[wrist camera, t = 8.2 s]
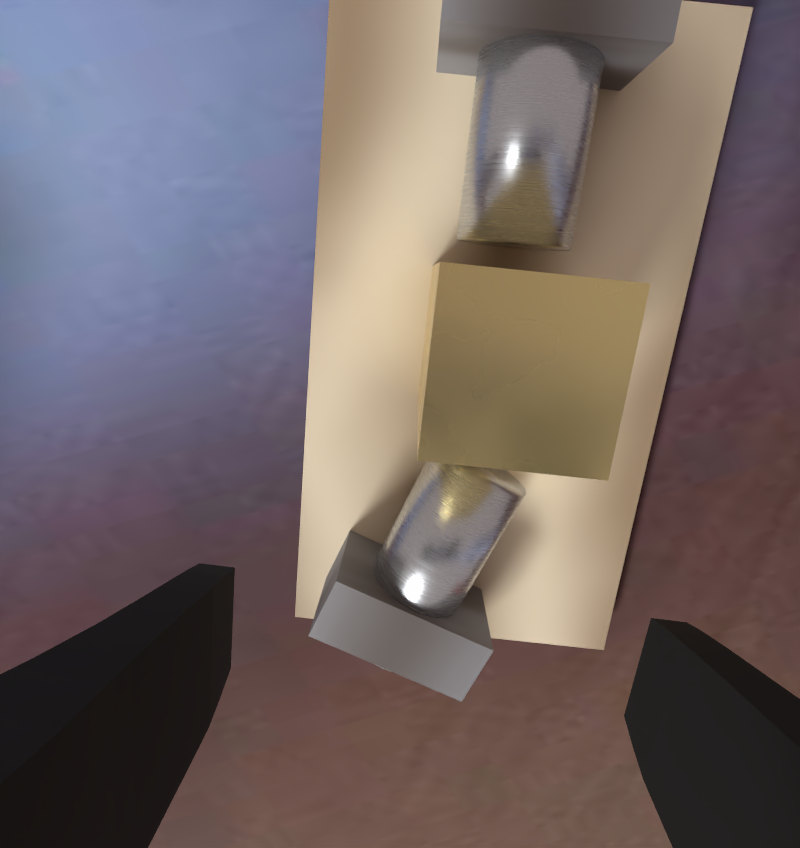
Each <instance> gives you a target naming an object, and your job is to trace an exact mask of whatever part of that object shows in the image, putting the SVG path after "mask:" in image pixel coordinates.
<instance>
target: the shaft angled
mask: <svg viewBox="0 0 800 848" xmlns="http://www.w3.org/2000/svg"><path fill="white" fill-rule="evenodd" d="M525 495H526V490H525V488H524V486H523V485H522V484H521V483H520V482H519V481H518V480H517V479H516V478H515V477H514V476H513V475H512V474H510V473H509V472H508V471H506V470H502V469H493V468H483V467H474V466H464V465H455V464H445V463H436V462H426V463H425V465H424V467H423V469H422V471H421V473H420V475H419V476H418V478H417V480H416V482H415V484H414V486H413V488H412V490H411V492H410V494H409V495H408V497H407V499H406V501H405V503H404V505H403V507H402V509H401V511H400V513H399V515H398V516H397V518H396V520H395V522H394V524H393V526H392V528H391V530H390V532H389V534H388V535H387V537H386V539H385V541H384V543H383V545H382V547H381V549H380V551H379V553H378V554H377V556H376V558H375V560H374V563H373V572H374V575H375V577H376V579H377V581H378V583H379V584H380V585H381V587H382V588H383V589H384V590H385V591H386V592H387V593H388V594H389V595H390V596H391V597H392V598H393V599H395V600H396V601H397V602H399V603H400V604H402V605H403V606H405V607H407V608H408V609H410V610H412V611H414V612H416V613H419V614H422V615H425V616H428V617H433V618H448V617H451V616H452V615H454V614H455V613H456V612H457V610H458V608H459V607H460V605H461V603H462V602H463V600H464V598H465V597H466V595H467V593H468V591H469V590H470V588H471V586H472V585H473V583H474V581H475V580H476V578H477V576H478V575H479V573H480V571H481V569H482V568H483V566H484V564H485V563H486V561H487V559H488V558H489V556H490V554H491V552H492V551H493V549H494V547H495V546H496V544H497V542H498V541H499V539H500V537H501V536H502V534H503V532H504V530H505V529H506V527H507V525H508V524H509V522H510V520H511V519H512V517H513V515H514V513H515V512H516V510H517V508H518V507H519V505H520V503H521V502H522V500H523V498H524V497H525ZM379 667H380V666H379ZM381 668H382V667H381ZM383 669H384V668H383ZM385 670H387V669H385ZM388 671H389V670H388Z"/></svg>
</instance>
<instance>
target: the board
mask: <svg viewBox="0 0 800 848" xmlns="http://www.w3.org/2000/svg"><path fill="white" fill-rule="evenodd" d="M752 11H753V7H745V6H735V5H724V4H714V3H704V2H694V1H684V0H329V16H328V34H327V52H326V70H325V88H324V106H323V124H322V142H321V160H320V178H319V196H318V214H317V232H316V250H315V267H314V285H313V303H312V321H311V339H310V357H309V375H308V393H307V411H306V429H305V447H304V465H303V483H302V501H301V519H300V537H299V555H298V573H297V591H296V609H295V617H302V618H311V619H313V622H312V625H311V629H310V632H309V635H308V636H310V637H312V638H315V639H317V640H319V641H322V642H324V643H326V644H329V645H331V646H333V647H336V648H338V649H340V650H343V651H345V652H347V653H350V654H352V655H354V656H356V657H359V658H361V659H363V660H366V661H368V662H370V663H373V664H375V665H377V666H380V667H382V668H384V669H387V670H389V671H391V672H394V673H396V674H398V675H401V676H403V677H405V678H408V679H410V680H412V681H415V682H417V683H419V684H422V685H424V686H426V687H429V688H431V689H433V690H436V691H438V692H440V693H443V694H445V695H447V696H450V697H452V698H454V699H457V700H459V701H461V702H462V700H463V699H464V697H465V695H466V694H467V692H468V691H469V689H470V687H471V686H472V684H473V683H474V681H475V679H476V678H477V676H478V675H479V673H480V671H481V670H482V668H483V667H484V665H485V663H486V662H487V660H488V659H489V657H490V655H491V654H492V652H493V646H492V641H491V638H497V639H507V640H516V641H525V642H535V643H544V644H553V645H563V646H572V647H581V648H591V649H600V650H604V646H605V641H606V637H607V633H608V629H609V624H610V620H611V616H612V611H613V607H614V603H615V599H616V594H617V590H618V586H619V581H620V577H621V573H622V569H623V564H624V560H625V556H626V551H627V547H628V543H629V539H630V534H631V530H632V526H633V521H634V517H635V513H636V508H637V504H638V500H639V496H640V491H641V487H642V483H643V478H644V474H645V470H646V466H647V461H648V457H649V453H650V448H651V444H652V440H653V436H654V431H655V427H656V423H657V418H658V414H659V410H660V406H661V401H662V397H663V393H664V388H665V384H666V380H667V375H668V371H669V367H670V363H671V358H672V354H673V350H674V345H675V341H676V337H677V333H678V328H679V324H680V320H681V315H682V311H683V307H684V303H685V298H686V294H687V290H688V285H689V281H690V277H691V273H692V268H693V264H694V260H695V255H696V251H697V247H698V243H699V238H700V234H701V230H702V225H703V221H704V217H705V212H706V208H707V204H708V200H709V195H710V191H711V187H712V182H713V178H714V174H715V170H716V165H717V161H718V157H719V152H720V148H721V144H722V140H723V135H724V131H725V127H726V122H727V118H728V114H729V110H730V105H731V101H732V97H733V92H734V88H735V84H736V79H737V75H738V71H739V67H740V62H741V58H742V54H743V49H744V45H745V41H746V37H747V32H748V28H749V24H750V19H751V15H752ZM527 34H549V35H559V36H566V37H571V38H575V39H579V40H582V41H584V42H587V43H589V44H591V45H593V46H595V47H596V48H598V49H599V50H600V51H601V52H602V54H603V56H604V65H603V71H602V77H601V82H600V88H599V94H598V100H597V105H596V111H595V117H594V123H593V128H592V134H591V140H590V145H589V151H588V157H587V163H586V168H585V174H584V180H583V186H582V191H581V197H580V203H579V208H578V214H577V220H576V226H575V231H574V237H573V243H572V249H571V251H538V250H524V249H512V248H502V247H493V246H485V245H478V244H471V243H466V242H461V241H458V240H456V239H457V230H458V222H459V214H460V205H461V197H462V189H463V181H464V172H465V164H466V156H467V147H468V139H469V131H470V123H471V114H472V106H473V98H474V89H475V81H476V73H477V65H478V56H479V53H480V51H481V50H482V49H483V48H484V47H485V46H486V45H488V44H490V43H492V42H494V41H496V40H500V39H503V38H507V37H511V36H518V35H527ZM439 262H447V263H457V264H467V265H476V266H486V267H496V268H505V269H515V270H525V271H534V272H544V273H554V274H563V275H573V276H583V277H592V278H602V279H612V280H621V281H631V282H641V283H650V289H649V294H648V298H647V303H646V308H645V312H644V317H643V322H642V326H641V331H640V336H639V340H638V345H637V349H636V354H635V359H634V363H633V368H632V373H631V377H630V382H629V387H628V391H627V396H626V401H625V405H624V410H623V414H622V419H621V424H620V428H619V433H618V438H617V442H616V447H615V452H614V456H613V461H612V466H611V470H610V475H609V479H608V481H606V480H597V479H587V478H578V477H568V476H559V475H549V474H540V473H530V472H521V471H511V470H506V471H508V472H509V473H510V474H512V475H513V476H514V477H515V478H516V479H517V480H518V481H519V482H520V483H521V484H522V485H523V486H524V488H525V490H526V495H525V497H524V498H523V500H522V502H521V503H520V505H519V507H518V508H517V510H516V512H515V513H514V515H513V517H512V519H511V520H510V522H509V524H508V525H507V527H506V529H505V530H504V532H503V534H502V536H501V537H500V539H499V541H498V542H497V544H496V546H495V547H494V549H493V551H492V552H491V554H490V556H489V558H488V559H487V561H486V563H485V564H484V566H483V568H482V569H481V571H480V573H479V575H478V576H477V578H476V580H475V581H474V583H473V585H472V586H471V588H470V590H469V591H468V593H467V595H466V597H465V598H464V600H463V602H462V603H461V605H460V607H459V608H458V610H457V612H456V613H455V614H454V615H452V616H451V617H448V618H433V617H428V616H425V615H422V614H419V613H416V612H414V611H412V610H410V609H408V608H407V607H405V606H403V605H402V604H400V603H399V602H397V601H396V600H395V599H393V598H392V597H391V596H390V595H389V594H388V593H387V592H386V591H385V590H384V589H383V588H382V587H381V585H380V584H379V583H378V581H377V579H376V577H375V575H374V572H373V563H374V560H375V558H376V556H377V554H378V553H379V551H380V549H381V547H382V545H383V543H384V541H385V539H386V537H387V535H388V534H389V532H390V530H391V528H392V526H393V524H394V522H395V520H396V518H397V516H398V515H399V513H400V511H401V509H402V507H403V505H404V503H405V501H406V499H407V497H408V495H409V494H410V492H411V490H412V488H413V486H414V484H415V482H416V480H417V478H418V476H419V475H420V473H421V471H422V469H423V467H424V465H425V463H426V461H417V438H418V393H419V384H420V375H421V366H422V357H423V348H424V339H425V330H426V321H427V312H428V303H429V294H430V285H431V276H432V267H433V266H434V265H435V264H437V263H439Z"/></svg>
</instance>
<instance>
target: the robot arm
mask: <svg viewBox="0 0 800 848" xmlns="http://www.w3.org/2000/svg"><path fill="white" fill-rule="evenodd" d="M234 572H235V568H233V567H225V566H216V565H208V564H198V565H196V566H194V567H192V568H190V569H188V570H187V571H185V572H183V573H182V574H180V575H178V576H176V577H175V578H173V579H171V580H170V581H168V582H167V583H165V584H163V585H162V586H160V587H158V588H157V589H155V590H153V591H152V592H150V593H148V594H147V595H145V596H143V597H142V598H140V599H138V600H137V601H135V602H133V603H132V604H130V605H128V606H127V607H125V608H123V609H121V610H120V611H118V612H116V613H115V614H113V615H111V616H110V617H108V618H106V619H105V620H103V621H101V622H99V623H98V624H96V625H94V626H92V627H90V628H88V629H87V630H85V631H83V632H81V633H79V634H77V635H75V636H74V637H72V638H70V639H68V640H66V641H64V642H62V643H61V644H59V645H57V646H55V647H53V648H51V649H49V650H48V651H46V652H44V653H42V654H40V655H38V656H36V657H35V658H33V659H31V660H29V661H27V662H25V663H23V664H21V665H19V666H17V667H15V668H13V669H10V670H8V671H6V672H4V673H2V674H0V848H148V846H149V844H150V842H151V840H152V838H153V837H154V835H155V833H156V831H157V829H158V827H159V825H160V823H161V821H162V819H163V817H164V815H165V813H166V811H167V809H168V807H169V805H170V803H171V801H172V799H173V797H174V795H175V793H176V791H177V789H178V787H179V786H180V784H181V782H182V780H183V778H184V776H185V774H186V772H187V770H188V768H189V766H190V764H191V762H192V760H193V758H194V756H195V754H196V752H197V750H198V748H199V746H200V744H201V742H202V740H203V738H204V736H205V734H206V732H207V730H208V728H209V726H210V723H211V720H212V718H213V715H214V712H215V710H216V707H217V705H218V702H219V699H220V697H221V694H222V691H223V688H224V685H225V683H226V680H227V677H228V674H229V671H230V669H231V648H232V622H233V597H234ZM624 717H625V721H626V724H627V728H628V731H629V735H630V738H631V742H632V745H633V749H634V752H635V755H636V758H637V761H638V764H639V767H640V771H641V774H642V777H643V780H644V782H645V784H646V787H647V789H648V791H649V794H650V796H651V799H652V801H653V803H654V805H655V808H656V810H657V812H658V815H659V817H660V819H661V822H662V824H663V826H664V828H665V831H666V833H667V835H668V838H669V840H670V842H671V844H672V847H673V848H800V699H799V698H797V697H796V696H795V695H793V694H792V693H790V692H789V691H787V690H786V689H785V688H783V687H782V686H780V685H779V684H777V683H776V682H775V681H773V680H772V679H770V678H769V677H768V676H766V675H765V674H763V673H762V672H760V671H759V670H758V669H756V668H755V667H753V666H752V665H751V664H749V663H748V662H746V661H745V660H743V659H742V658H741V657H739V656H738V655H736V654H735V653H733V652H732V651H731V650H729V649H728V648H726V647H725V646H723V645H722V644H720V643H719V642H717V641H716V640H714V639H713V638H711V637H710V636H708V635H707V634H705V633H704V632H702V631H700V630H699V629H697V628H695V627H694V626H692V625H690V624H688V623H687V622H679V621H670V620H662V619H654V618H651V620H650V624H649V628H648V631H647V635H646V638H645V642H644V646H643V649H642V653H641V657H640V660H639V664H638V668H637V671H636V675H635V678H634V682H633V686H632V689H631V693H630V697H629V700H628V704H627V707H626V711H625V715H624Z"/></svg>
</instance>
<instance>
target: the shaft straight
mask: <svg viewBox="0 0 800 848" xmlns="http://www.w3.org/2000/svg"><path fill="white" fill-rule="evenodd" d="M603 65H604V56H603V54H602V52H601V51H600V50H599V49H598V48H596V47H595V46H593V45H591V44H589V43H587V42H584V41H582V40H579V39H575V38H571V37H566V36H559V35H549V34H527V35H518V36H511V37H507V38H503V39H500V40H496V41H494V42H492V43H490V44H488V45H486V46H485V47H484V48H483V49H482V50H481V51H480V53H479V56H478V65H477V73H476V81H475V89H474V98H473V106H472V114H471V123H470V131H469V139H468V147H467V156H466V164H465V172H464V181H463V189H462V197H461V205H460V214H459V222H458V230H457V239H456V240H458V241H461V242H466V243H471V244H478V245H485V246H493V247H502V248H512V249H524V250H538V251H571V249H572V243H573V237H574V231H575V226H576V220H577V214H578V208H579V203H580V197H581V191H582V186H583V180H584V174H585V168H586V163H587V157H588V151H589V145H590V140H591V134H592V128H593V123H594V117H595V111H596V105H597V100H598V94H599V88H600V82H601V77H602V71H603Z"/></svg>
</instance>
